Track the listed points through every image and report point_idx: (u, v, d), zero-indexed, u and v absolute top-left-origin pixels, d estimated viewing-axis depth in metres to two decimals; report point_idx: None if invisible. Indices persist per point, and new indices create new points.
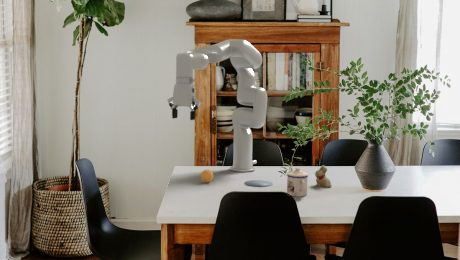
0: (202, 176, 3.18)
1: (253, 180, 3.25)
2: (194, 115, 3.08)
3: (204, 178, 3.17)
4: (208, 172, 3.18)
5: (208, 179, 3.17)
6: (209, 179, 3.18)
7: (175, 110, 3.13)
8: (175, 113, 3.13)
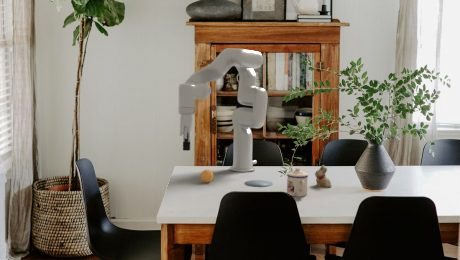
0: (202, 176, 3.18)
1: (253, 180, 3.25)
2: None
3: (204, 178, 3.17)
4: (208, 172, 3.18)
5: (208, 179, 3.17)
6: (209, 179, 3.18)
7: None
8: None
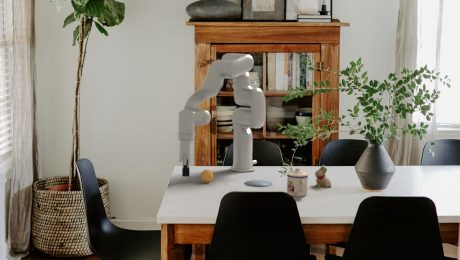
0: (202, 176, 3.18)
1: (253, 180, 3.25)
2: None
3: (204, 178, 3.17)
4: (208, 172, 3.18)
5: (208, 179, 3.17)
6: (209, 179, 3.18)
7: None
8: None
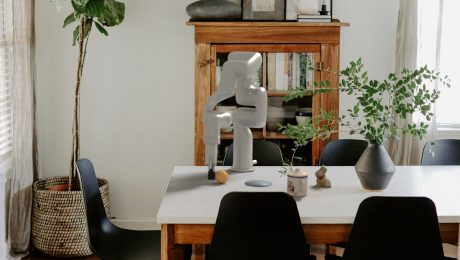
0: (222, 174, 3.17)
1: (253, 180, 3.25)
2: None
3: (220, 175, 3.16)
4: (225, 180, 3.17)
5: (218, 179, 3.17)
6: (217, 179, 3.17)
7: None
8: None
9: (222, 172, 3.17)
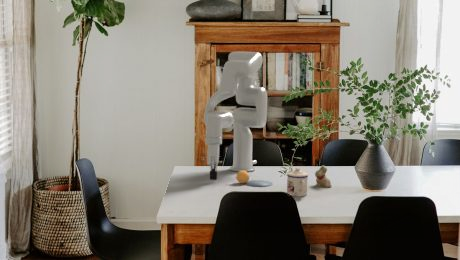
0: (241, 181, 3.17)
1: (253, 180, 3.25)
2: None
3: (243, 180, 3.16)
4: (239, 174, 3.17)
5: (246, 177, 3.16)
6: (246, 176, 3.17)
7: None
8: None
9: (241, 182, 3.18)
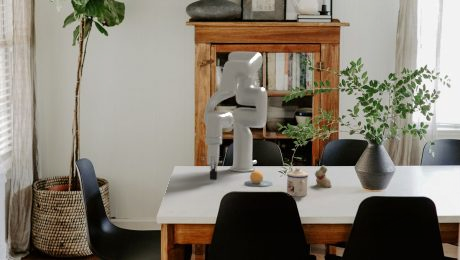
0: (254, 175, 3.16)
1: None
2: None
3: (254, 178, 3.16)
4: (261, 177, 3.17)
5: (255, 181, 3.17)
6: (256, 182, 3.17)
7: None
8: None
9: (253, 174, 3.17)
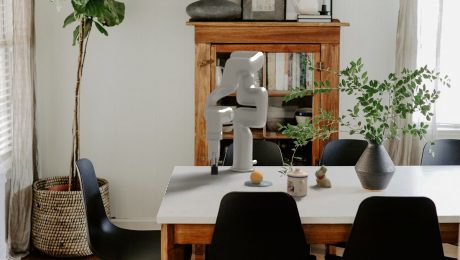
0: (254, 175, 3.16)
1: None
2: None
3: (254, 178, 3.16)
4: (261, 177, 3.17)
5: (255, 181, 3.17)
6: (256, 182, 3.17)
7: None
8: None
9: (253, 174, 3.17)
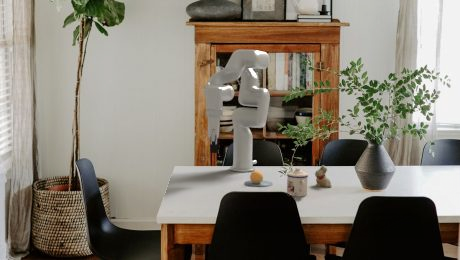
0: (254, 175, 3.16)
1: None
2: None
3: (254, 178, 3.16)
4: (261, 177, 3.17)
5: (255, 181, 3.17)
6: (256, 182, 3.17)
7: None
8: None
9: (253, 174, 3.17)
